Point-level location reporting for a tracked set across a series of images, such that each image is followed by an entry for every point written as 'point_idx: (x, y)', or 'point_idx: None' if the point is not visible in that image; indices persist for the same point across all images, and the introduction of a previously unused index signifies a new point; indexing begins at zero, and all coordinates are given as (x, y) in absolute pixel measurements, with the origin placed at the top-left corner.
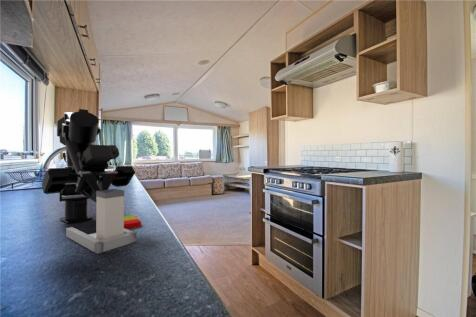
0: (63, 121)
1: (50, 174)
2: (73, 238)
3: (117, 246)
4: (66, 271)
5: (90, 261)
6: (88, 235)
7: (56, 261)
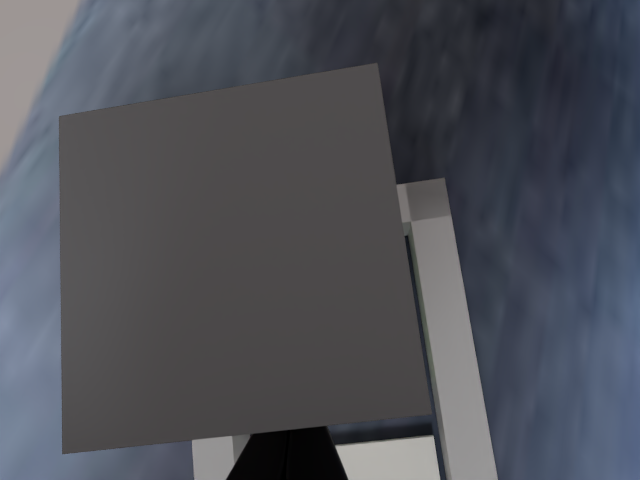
0: None
1: None
2: None
3: None
4: (605, 82)
5: (490, 122)
6: (445, 405)
7: (637, 244)
